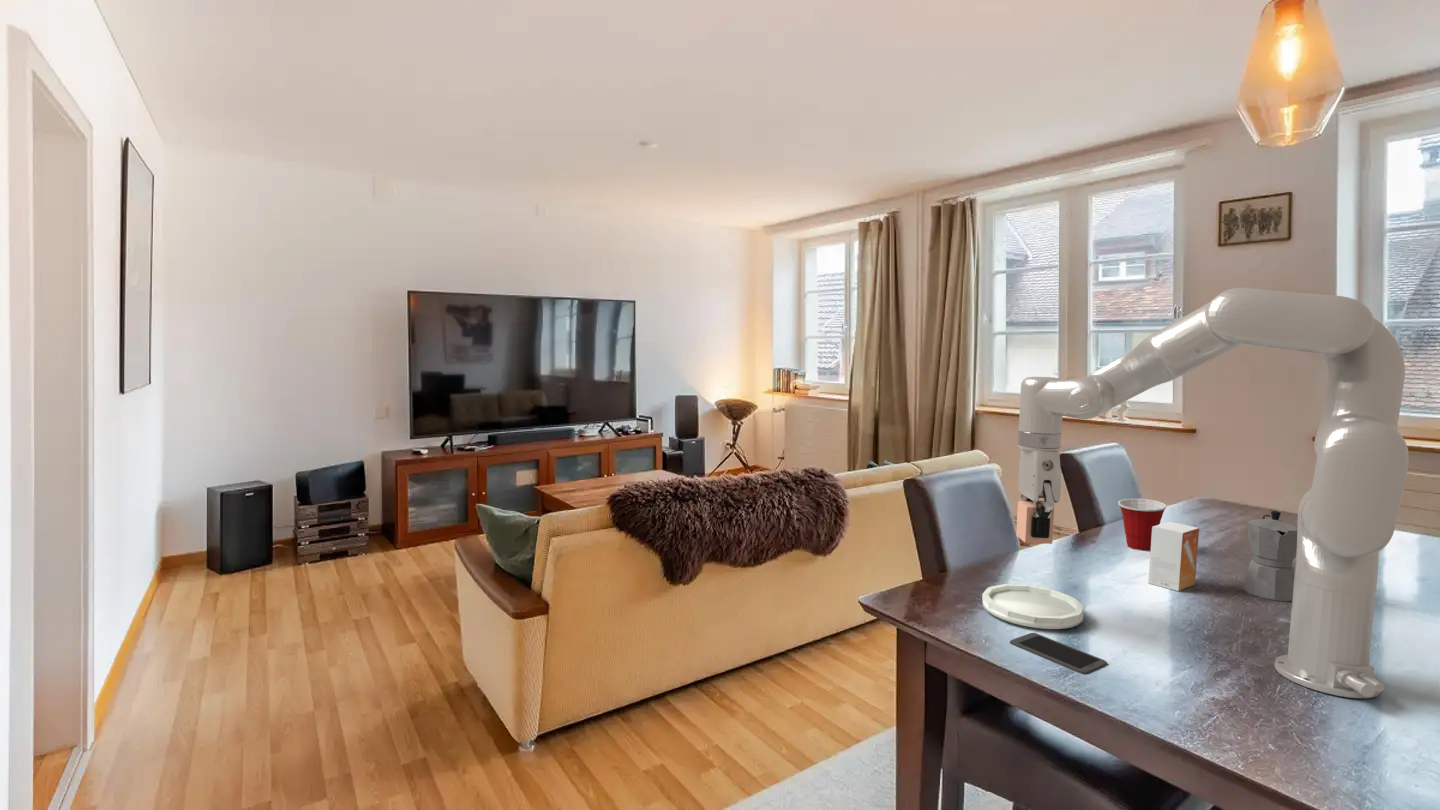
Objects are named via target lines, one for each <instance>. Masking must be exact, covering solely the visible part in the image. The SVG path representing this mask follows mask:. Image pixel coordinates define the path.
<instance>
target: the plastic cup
mask: <svg viewBox="0 0 1440 810" xmlns="http://www.w3.org/2000/svg"><path fill="white" fill-rule="evenodd" d="M1117 504H1118V506H1119V508H1120V511H1121V515H1122V521H1123V527H1124V533H1125V539H1126V545H1127V547H1128V548H1129V549H1134V550H1137V549H1138V551H1151V537H1152V527H1153V526H1156V525H1159V524H1161V520H1162V518H1163V514H1164V512H1165V510H1166V509H1167V504H1166V503H1164V502H1162V501H1159V500H1155V499H1150V498H1149V499H1148V498H1124V499H1121V500H1118V502H1117Z"/></svg>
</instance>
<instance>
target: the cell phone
mask: <svg viewBox="0 0 1440 810" xmlns="http://www.w3.org/2000/svg"><path fill="white" fill-rule="evenodd" d="M1009 644H1010V645H1011V646H1015V647H1017V648H1019V649H1022V650H1024V651H1026V652H1028V653H1031V654H1033V655H1035V656H1038V657H1040V658H1043V659H1045V660H1048V661H1050V662H1052V663H1055V664H1057V665H1059V666H1062V667H1064V668H1067V669H1069V670H1072V671H1074V672H1076V673H1078V674H1081V675H1089V674H1091V673H1093V672H1095V671H1097V670H1100V669H1102V668H1103V667H1106V666H1108V662H1107V661H1106V660H1105V659H1103V658H1100V657H1097V656H1094V655H1093V654H1090V653H1087V652H1084V651H1082V650H1080V649H1078V648H1074V647H1072V646H1070V645H1067V644H1065V643H1062V642H1059V641H1056V640H1054V639H1052V638H1049V637H1046V636H1044V635H1041V634H1038V633H1036V632H1030V633H1027V634H1024V635H1021V636H1019V637H1016V638H1013V639H1010V640H1009Z"/></svg>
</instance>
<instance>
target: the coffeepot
mask: <svg viewBox="0 0 1440 810" xmlns="http://www.w3.org/2000/svg"><path fill="white" fill-rule="evenodd" d="M1281 514H1282V512H1280V511H1278V510H1273V511H1270V515H1269V514H1264V515H1263V517H1262V518H1260V519H1259V518H1256V519H1253V518H1252V519H1251V520H1248V521H1247V522H1246V524H1247V532H1248V533H1247V534H1248V535H1247V536H1248V545H1249V552H1250V553H1251V554H1252V556H1251V560H1250V562H1249V565H1248V569H1247V572H1246V575H1245V578H1244V582H1243V585H1242V590H1243V591H1244V592H1245V591H1246V593H1247V594H1249V595H1251V596H1253V595H1254V596H1253V597H1256V596H1257V597H1256V598H1260V599H1264V598H1265V600H1268V599H1269V600H1268V601H1276V602H1292V599H1293V587H1294V576H1295V569H1294V568H1295V567H1293V563H1294V562H1293V561H1294V560H1296V553H1297V530H1298V525H1296V524H1294V523H1292V522H1287V521H1284V520H1281V519H1280V516H1281Z"/></svg>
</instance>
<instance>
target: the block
mask: <svg viewBox="0 0 1440 810" xmlns="http://www.w3.org/2000/svg"><path fill="white" fill-rule="evenodd" d="M1038 505H1039V508H1040V507H1041V506H1043V504H1038ZM1016 513H1017V516H1016V517H1017V518H1016V532H1015V533H1016V537H1017V538H1018V539H1020V540H1021V541H1022V542H1023V543H1025V544H1049V545H1051V544H1053V537H1054V535H1053V534H1054V519H1055V507H1054V508H1053V509H1052V511H1051V518H1050V531H1049V538H1033V537H1032V536H1031V522H1032V516H1034V507H1033V501H1022V500H1018V501H1017V512H1016Z"/></svg>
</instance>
